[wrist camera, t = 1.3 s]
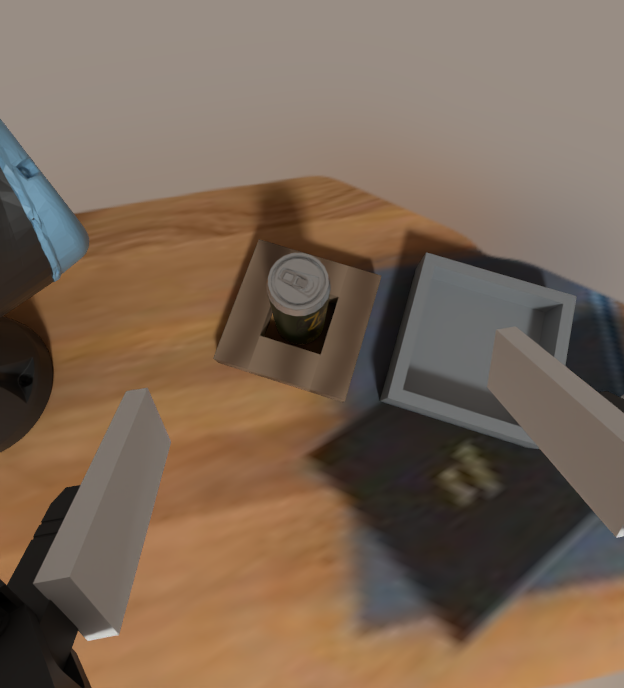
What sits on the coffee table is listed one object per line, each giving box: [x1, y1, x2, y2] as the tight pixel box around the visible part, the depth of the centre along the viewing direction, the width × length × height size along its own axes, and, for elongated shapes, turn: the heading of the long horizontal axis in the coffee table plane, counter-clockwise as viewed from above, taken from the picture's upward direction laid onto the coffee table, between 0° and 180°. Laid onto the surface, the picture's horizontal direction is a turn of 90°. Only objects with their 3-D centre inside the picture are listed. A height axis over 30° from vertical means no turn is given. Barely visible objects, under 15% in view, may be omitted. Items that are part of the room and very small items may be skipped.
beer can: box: [266, 253, 331, 344], centre depth 36 cm, size 5×5×12 cm
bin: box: [380, 252, 577, 449], centre depth 40 cm, size 16×16×4 cm
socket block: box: [213, 239, 381, 402], centre depth 41 cm, size 14×14×2 cm
